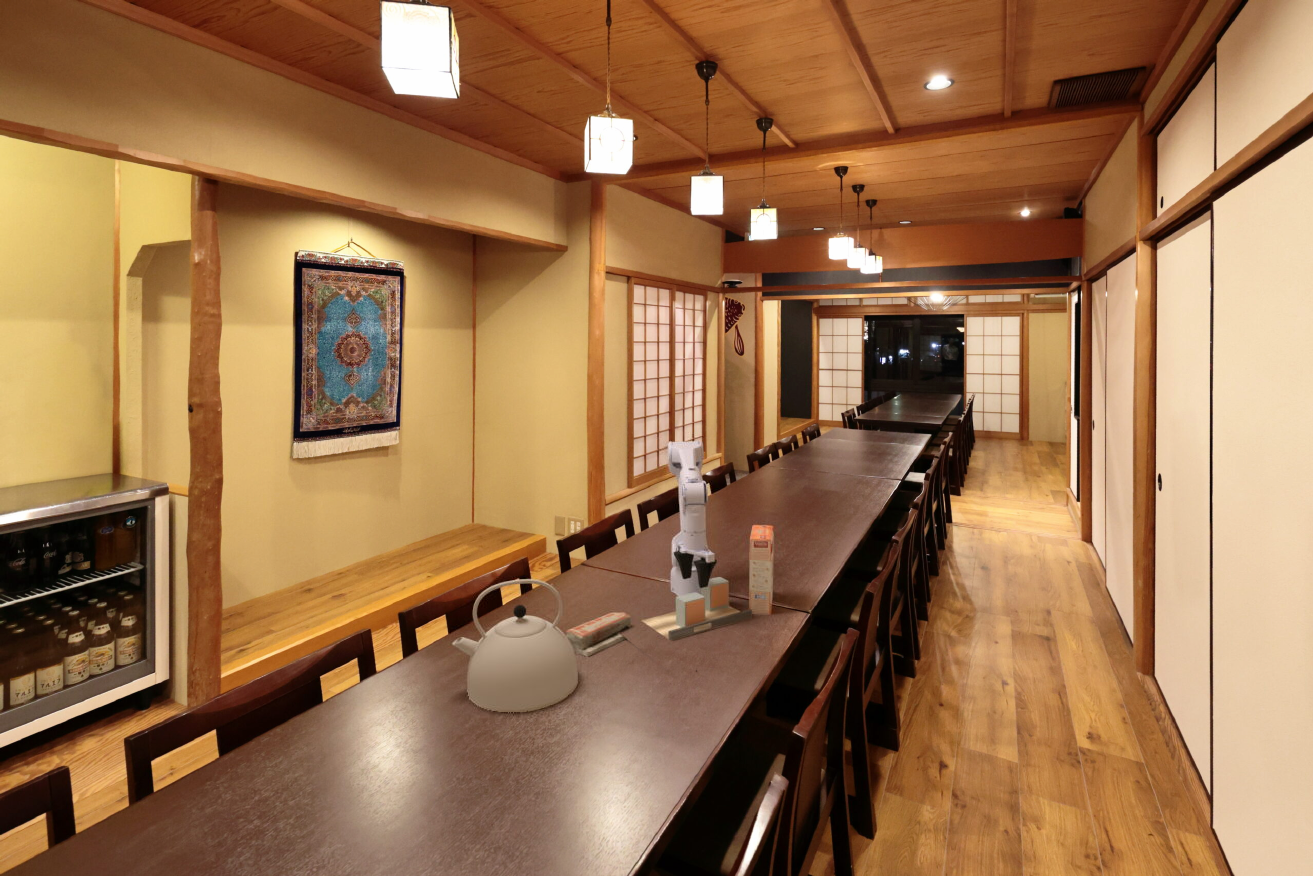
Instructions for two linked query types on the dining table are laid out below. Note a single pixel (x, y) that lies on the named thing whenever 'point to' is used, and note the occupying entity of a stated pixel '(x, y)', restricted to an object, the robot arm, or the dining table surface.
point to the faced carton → (716, 594)
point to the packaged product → (598, 633)
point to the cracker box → (761, 569)
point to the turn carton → (690, 609)
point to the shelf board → (712, 620)
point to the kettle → (519, 660)
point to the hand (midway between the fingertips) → (695, 582)
